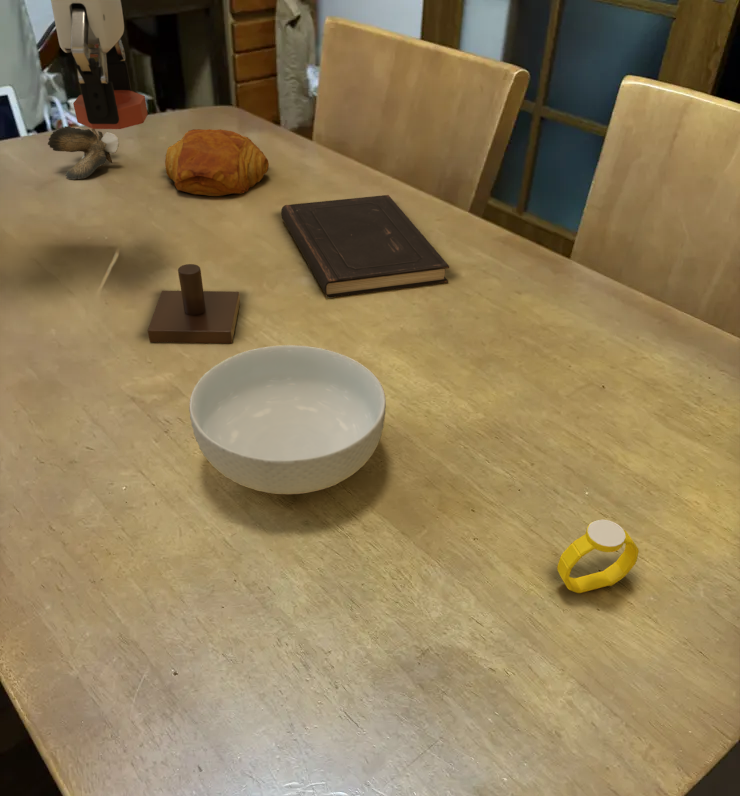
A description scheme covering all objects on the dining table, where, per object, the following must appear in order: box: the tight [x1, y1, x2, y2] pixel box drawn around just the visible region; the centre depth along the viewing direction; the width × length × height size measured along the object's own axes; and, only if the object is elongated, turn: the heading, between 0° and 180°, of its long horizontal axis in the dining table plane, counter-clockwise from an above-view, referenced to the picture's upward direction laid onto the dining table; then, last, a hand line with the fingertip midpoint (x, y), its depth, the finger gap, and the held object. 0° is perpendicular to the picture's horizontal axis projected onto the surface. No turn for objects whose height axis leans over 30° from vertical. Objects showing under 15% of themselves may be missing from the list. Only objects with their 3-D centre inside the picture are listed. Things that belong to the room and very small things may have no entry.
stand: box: [147, 263, 241, 344], centre depth 84 cm, size 9×9×6 cm
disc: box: [72, 90, 148, 130], centre depth 83 cm, size 7×7×2 cm
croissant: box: [164, 128, 270, 197], centre depth 114 cm, size 14×16×8 cm
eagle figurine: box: [47, 125, 120, 180], centre depth 116 cm, size 8×7×9 cm
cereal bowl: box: [188, 344, 387, 495], centre depth 66 cm, size 17×17×7 cm
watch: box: [556, 519, 640, 594], centre depth 57 cm, size 6×3×6 cm, turn 105°
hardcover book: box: [280, 194, 450, 299], centre depth 100 cm, size 16×23×2 cm
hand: (111, 110), depth 84 cm, fingers closed on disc, 7 cm apart
